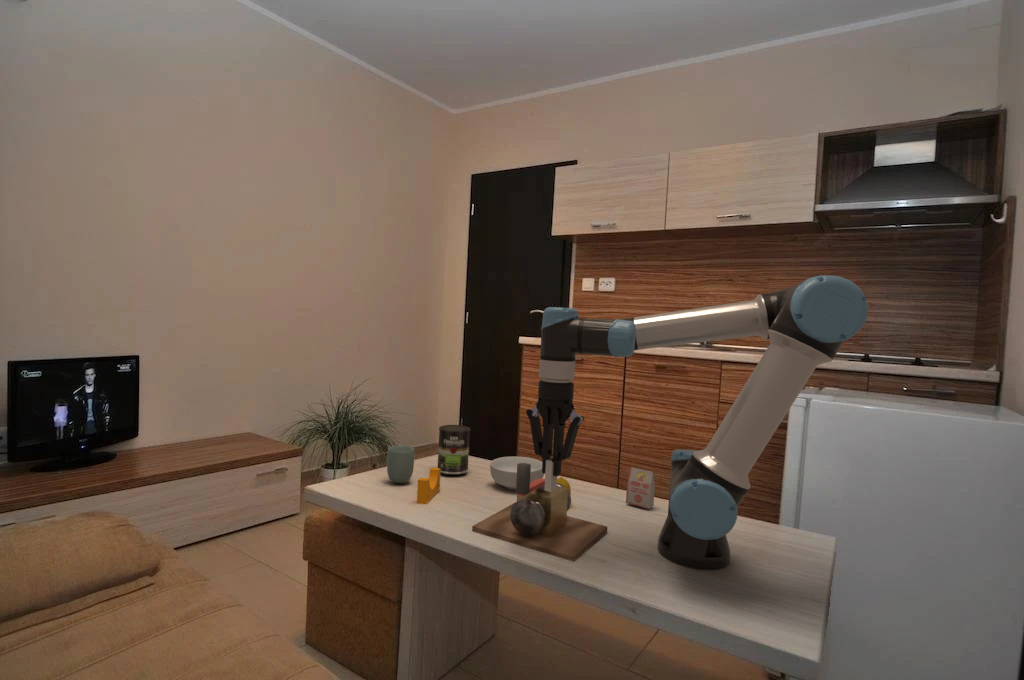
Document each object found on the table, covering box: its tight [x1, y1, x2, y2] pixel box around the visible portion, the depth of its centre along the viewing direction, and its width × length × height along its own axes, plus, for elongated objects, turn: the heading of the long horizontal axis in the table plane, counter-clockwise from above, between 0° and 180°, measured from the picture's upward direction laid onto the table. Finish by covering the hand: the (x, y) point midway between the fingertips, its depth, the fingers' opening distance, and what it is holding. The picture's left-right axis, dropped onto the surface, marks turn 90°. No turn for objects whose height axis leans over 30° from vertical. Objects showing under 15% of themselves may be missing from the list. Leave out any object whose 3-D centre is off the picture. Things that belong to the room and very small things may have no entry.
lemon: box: [557, 476, 572, 496], centre depth 139 cm, size 6×6×8 cm
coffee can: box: [436, 424, 471, 475], centre depth 167 cm, size 10×10×14 cm
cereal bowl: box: [489, 456, 545, 491], centre depth 154 cm, size 17×17×7 cm
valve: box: [510, 483, 572, 538], centre depth 121 cm, size 9×16×9 cm, turn 149°
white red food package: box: [625, 466, 656, 510], centre depth 144 cm, size 4×7×10 cm, turn 54°
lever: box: [515, 463, 545, 496], centre depth 116 cm, size 13×4×8 cm, turn 149°
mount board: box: [471, 501, 609, 562], centre depth 121 cm, size 26×20×2 cm
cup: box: [386, 444, 415, 484], centre depth 153 cm, size 8×8×10 cm
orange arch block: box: [416, 467, 441, 505], centre depth 142 cm, size 12×4×6 cm, turn 171°
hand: (550, 489), depth 108 cm, fingers closed
